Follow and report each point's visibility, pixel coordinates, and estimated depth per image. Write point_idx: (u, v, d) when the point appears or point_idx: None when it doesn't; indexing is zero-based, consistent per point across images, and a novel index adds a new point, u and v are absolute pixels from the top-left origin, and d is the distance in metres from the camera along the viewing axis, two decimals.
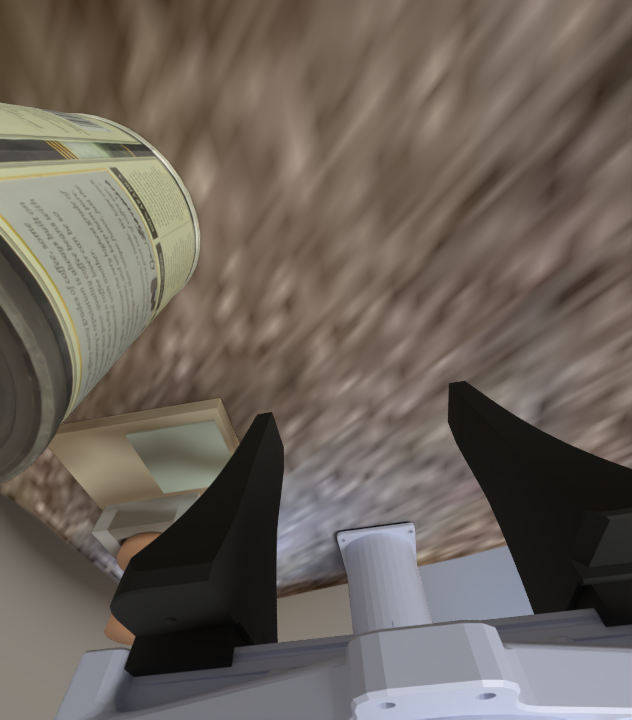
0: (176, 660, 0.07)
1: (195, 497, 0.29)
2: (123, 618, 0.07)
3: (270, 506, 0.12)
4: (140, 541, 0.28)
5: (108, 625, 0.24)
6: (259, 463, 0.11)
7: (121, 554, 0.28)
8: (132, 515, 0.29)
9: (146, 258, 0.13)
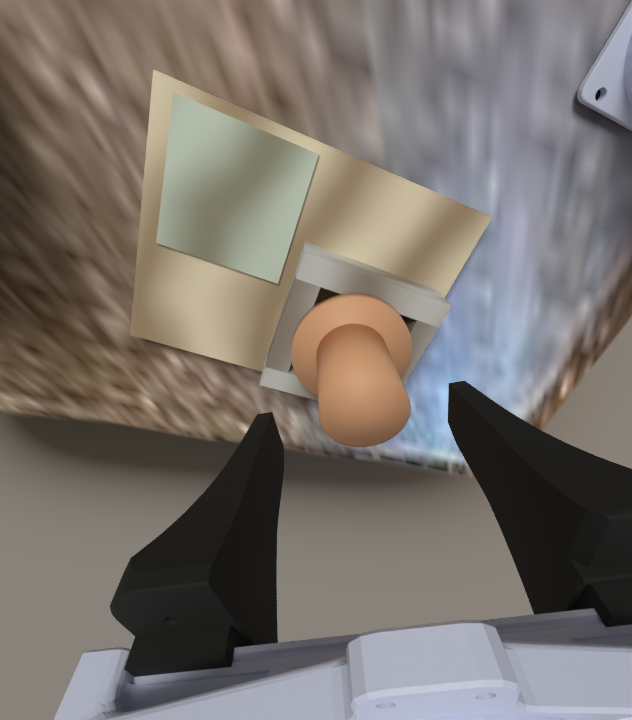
0: (176, 660, 0.07)
1: (303, 245, 0.19)
2: (123, 618, 0.07)
3: (270, 506, 0.12)
4: (293, 338, 0.19)
5: (320, 422, 0.15)
6: (260, 463, 0.11)
7: (303, 377, 0.20)
8: (275, 334, 0.20)
9: None
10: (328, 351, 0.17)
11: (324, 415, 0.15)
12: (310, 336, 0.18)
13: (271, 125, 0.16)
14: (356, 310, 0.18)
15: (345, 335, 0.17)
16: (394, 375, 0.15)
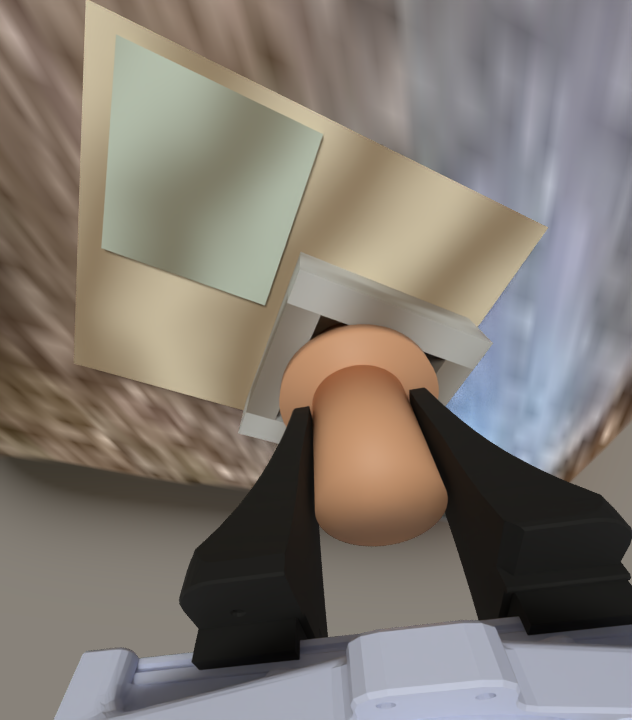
0: (245, 653, 0.07)
1: (299, 257, 0.14)
2: (191, 610, 0.07)
3: (313, 500, 0.12)
4: (283, 381, 0.14)
5: (316, 516, 0.10)
6: (305, 456, 0.11)
7: None
8: (259, 370, 0.16)
9: None
10: (329, 406, 0.12)
11: (322, 509, 0.10)
12: (305, 379, 0.14)
13: (258, 90, 0.12)
14: (368, 348, 0.13)
15: (353, 384, 0.12)
16: (426, 455, 0.10)
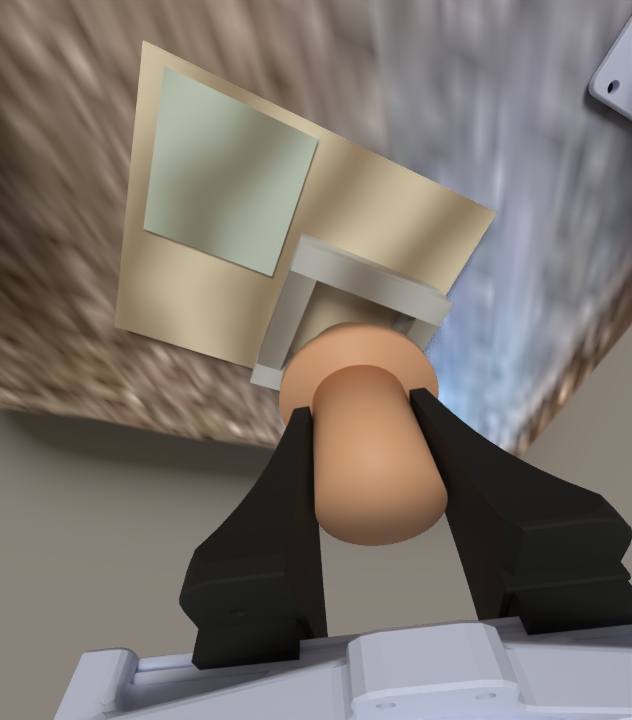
0: (245, 653, 0.07)
1: (300, 236, 0.18)
2: (191, 610, 0.07)
3: (313, 500, 0.12)
4: (282, 381, 0.14)
5: (316, 516, 0.10)
6: (304, 456, 0.11)
7: None
8: (267, 329, 0.19)
9: None
10: (329, 406, 0.12)
11: (322, 509, 0.10)
12: (305, 379, 0.14)
13: (269, 106, 0.15)
14: (368, 348, 0.13)
15: (353, 383, 0.12)
16: (426, 455, 0.10)
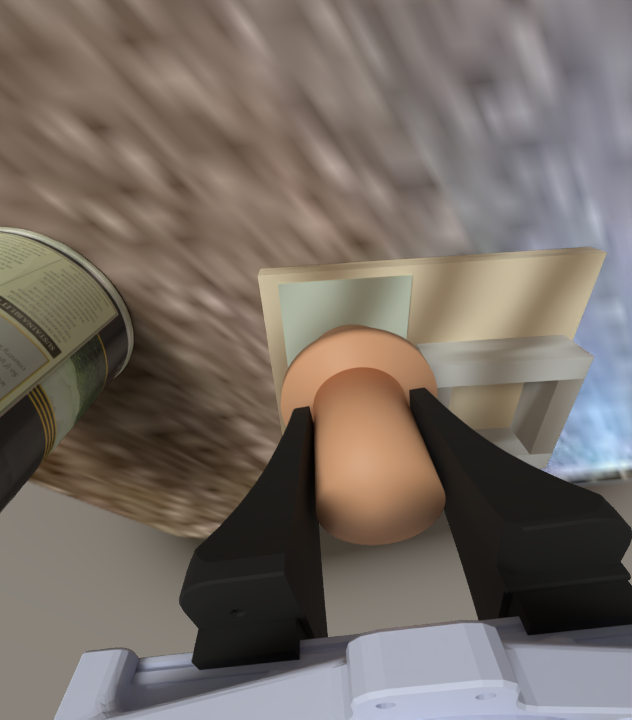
0: (245, 653, 0.07)
1: (419, 350, 0.20)
2: (191, 610, 0.07)
3: (313, 500, 0.12)
4: (282, 390, 0.14)
5: (319, 520, 0.11)
6: (304, 456, 0.11)
7: None
8: None
9: None
10: (326, 411, 0.12)
11: (323, 513, 0.11)
12: (303, 386, 0.14)
13: (363, 271, 0.18)
14: (360, 351, 0.13)
15: (347, 387, 0.13)
16: (419, 453, 0.10)
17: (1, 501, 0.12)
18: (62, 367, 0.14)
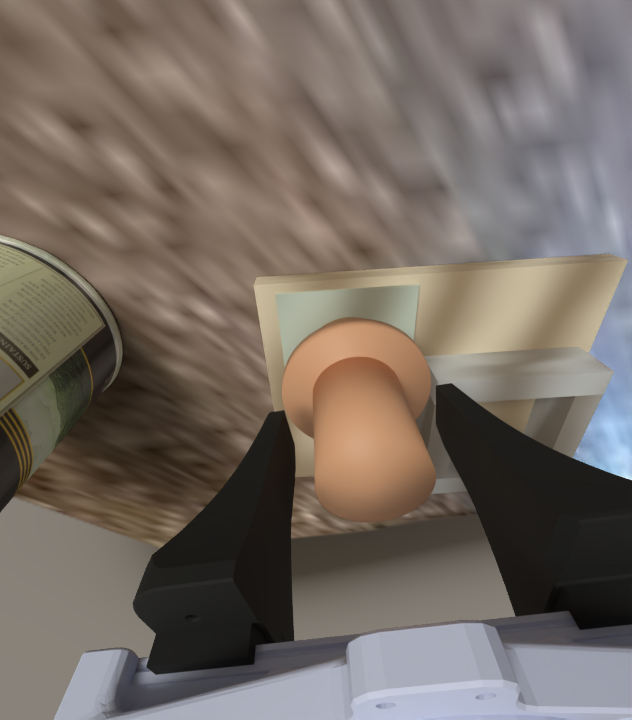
0: (199, 658, 0.07)
1: None
2: (145, 615, 0.07)
3: (284, 504, 0.12)
4: (283, 379, 0.15)
5: (318, 497, 0.12)
6: (274, 461, 0.11)
7: (299, 422, 0.16)
8: None
9: None
10: (324, 397, 0.13)
11: (322, 490, 0.11)
12: (303, 375, 0.15)
13: (367, 280, 0.16)
14: (357, 341, 0.14)
15: (345, 375, 0.13)
16: (412, 434, 0.11)
17: None
18: (38, 387, 0.13)
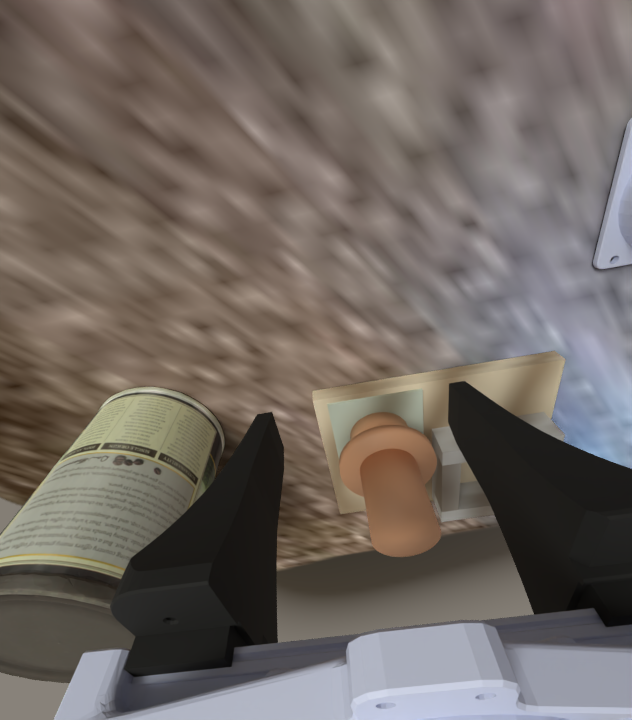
0: (176, 660, 0.07)
1: (433, 434, 0.26)
2: (123, 618, 0.07)
3: (270, 506, 0.12)
4: (340, 464, 0.24)
5: (373, 545, 0.20)
6: (259, 463, 0.11)
7: (352, 488, 0.25)
8: (437, 488, 0.28)
9: (94, 463, 0.19)
10: (369, 481, 0.22)
11: (375, 542, 0.20)
12: (353, 462, 0.23)
13: (387, 390, 0.25)
14: (385, 441, 0.22)
15: (380, 465, 0.22)
16: (424, 507, 0.19)
17: None
18: (199, 489, 0.22)
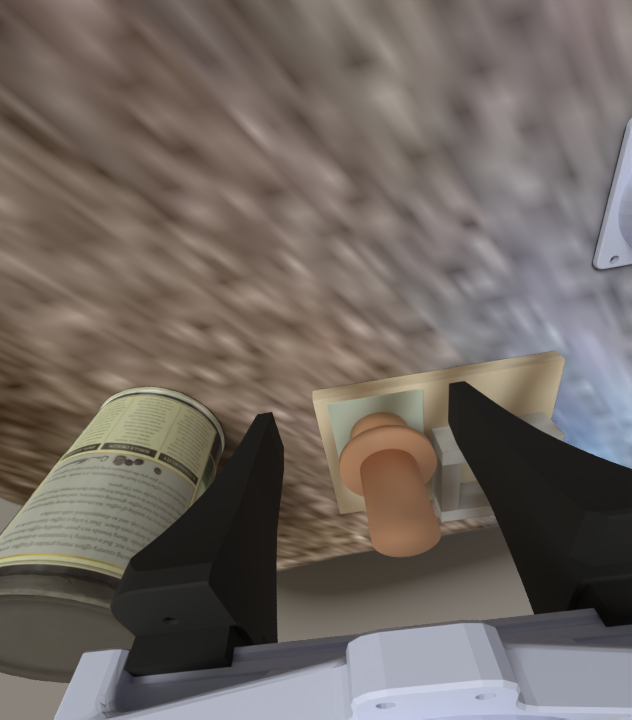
0: (176, 660, 0.07)
1: (433, 434, 0.26)
2: (123, 618, 0.07)
3: (270, 506, 0.12)
4: (340, 464, 0.24)
5: (373, 546, 0.20)
6: (259, 463, 0.11)
7: (352, 487, 0.25)
8: (437, 488, 0.28)
9: (94, 463, 0.19)
10: (369, 481, 0.22)
11: (375, 542, 0.20)
12: (353, 462, 0.23)
13: (387, 390, 0.25)
14: (385, 441, 0.22)
15: (380, 465, 0.22)
16: (424, 508, 0.19)
17: None
18: (199, 489, 0.22)
